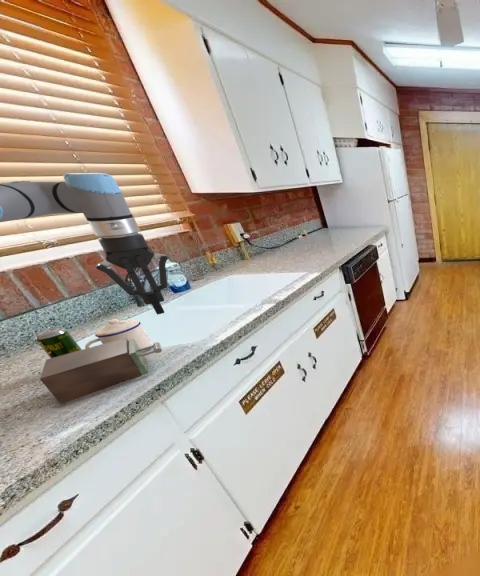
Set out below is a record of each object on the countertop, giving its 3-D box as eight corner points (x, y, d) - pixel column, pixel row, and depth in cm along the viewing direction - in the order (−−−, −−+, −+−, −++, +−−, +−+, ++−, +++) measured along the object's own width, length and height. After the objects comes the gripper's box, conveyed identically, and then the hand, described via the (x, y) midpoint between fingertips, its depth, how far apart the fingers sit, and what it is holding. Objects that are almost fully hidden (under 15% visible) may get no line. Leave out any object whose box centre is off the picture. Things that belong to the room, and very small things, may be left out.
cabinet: (141, 362, 91) (126, 337, 87) (143, 378, 84) (127, 352, 81) (67, 386, 81) (46, 359, 78) (62, 406, 75) (39, 378, 71)
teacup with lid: (150, 340, 102) (132, 310, 97) (157, 347, 97) (137, 317, 92) (94, 358, 93) (71, 327, 88) (98, 368, 88) (73, 335, 83)
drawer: (166, 352, 94) (155, 333, 91) (169, 365, 88) (157, 345, 85) (78, 380, 82) (62, 359, 79) (75, 397, 76) (58, 375, 73)
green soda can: (67, 363, 90) (41, 330, 86) (94, 357, 93) (69, 324, 88) (55, 372, 86) (26, 338, 81) (83, 366, 89) (57, 332, 84)
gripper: (77, 241, 71) (126, 325, 81) (157, 233, 81) (193, 308, 90) (79, 236, 76) (126, 316, 85) (155, 229, 85) (189, 301, 94)
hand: (160, 312), depth 88 cm, fingers closed
